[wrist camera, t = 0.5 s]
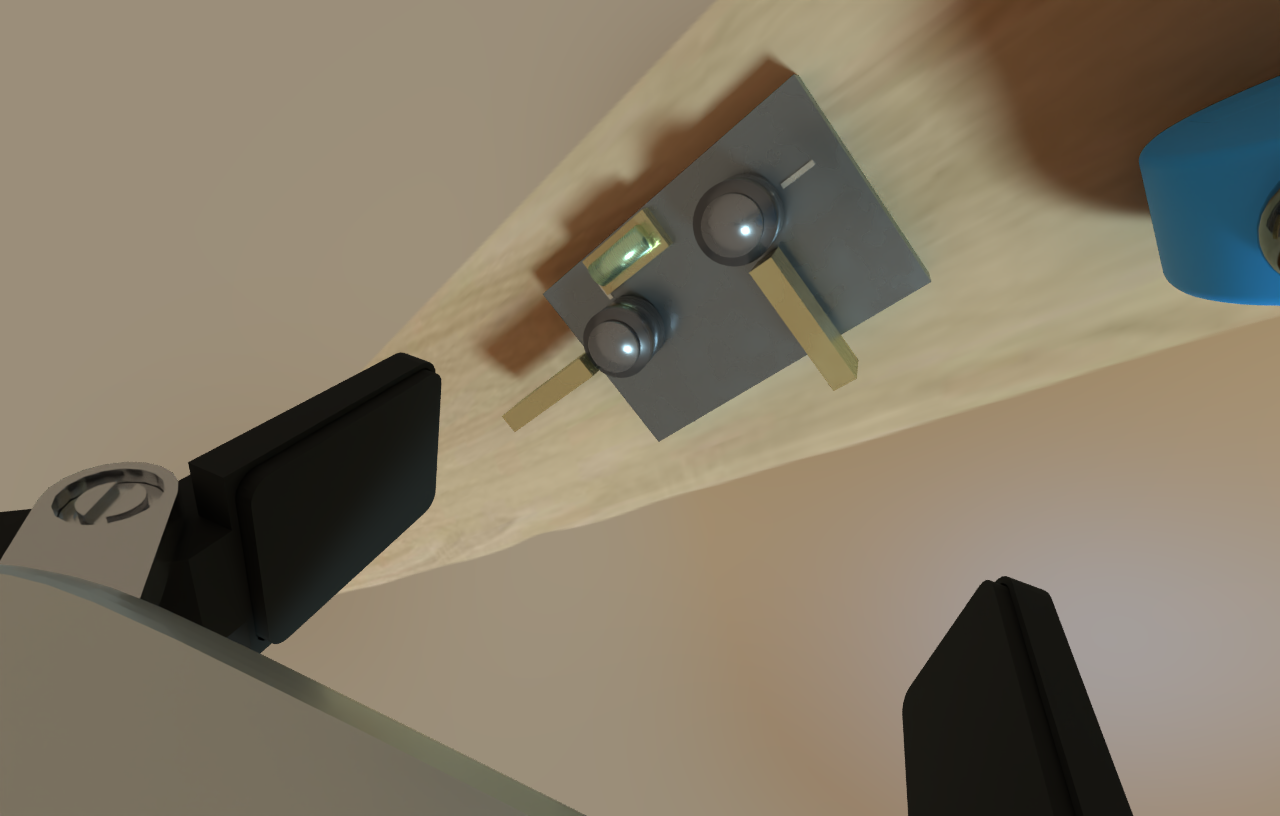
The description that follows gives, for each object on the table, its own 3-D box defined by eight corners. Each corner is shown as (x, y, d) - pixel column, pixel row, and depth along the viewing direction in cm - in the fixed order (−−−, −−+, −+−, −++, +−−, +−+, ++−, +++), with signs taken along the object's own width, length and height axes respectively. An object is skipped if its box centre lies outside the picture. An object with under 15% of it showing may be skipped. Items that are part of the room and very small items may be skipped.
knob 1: (636, 282, 38) (615, 298, 35) (678, 338, 39) (661, 358, 36) (513, 380, 45) (486, 400, 42) (550, 426, 46) (527, 449, 43)
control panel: (798, 75, 33) (787, 72, 29) (928, 272, 35) (934, 293, 31) (556, 286, 43) (525, 304, 39) (667, 429, 45) (647, 458, 41)
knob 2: (691, 207, 35) (673, 217, 32) (753, 156, 33) (740, 161, 30) (815, 380, 37) (809, 405, 34) (882, 343, 35) (882, 366, 32)
